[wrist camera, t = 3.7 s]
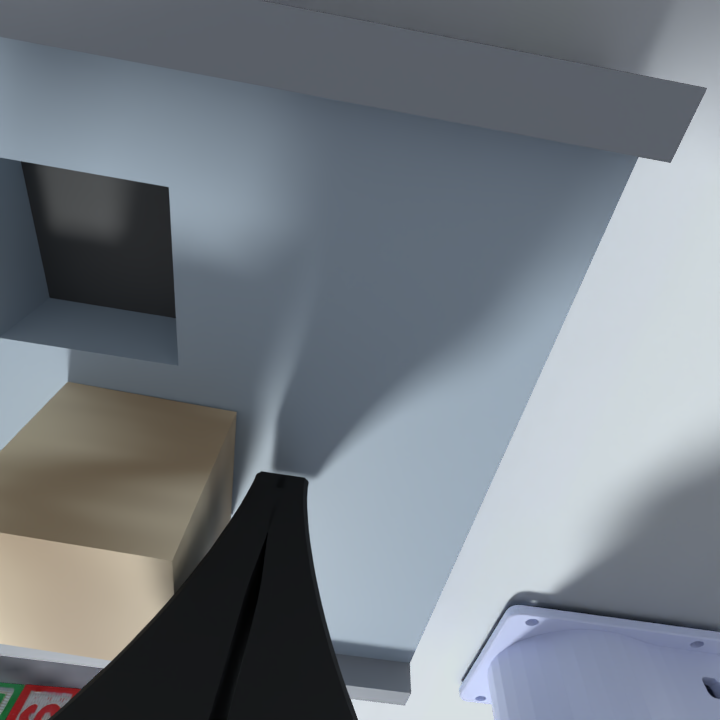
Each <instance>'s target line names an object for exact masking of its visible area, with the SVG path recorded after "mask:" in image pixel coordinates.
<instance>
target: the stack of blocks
mask: <svg viewBox="0 0 720 720" xmlns="http://www.w3.org/2000/svg"><path fill="white" fill-rule="evenodd" d="M80 690H81V689H76V688H64V687H51V686H39V685H22V684H10V683H0V720H48V719H49V718H50V717H51V716H53V715H54V714H55V713H56V712H57V711H58V710H59V709H60V708H62V707H63V706H64V705H65V704H66V703H67V702H68V701H69V700H70V699H71V698H73V697H74V696H75V695H76V694H77V693H78V692H79V691H80Z"/></svg>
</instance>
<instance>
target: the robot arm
mask: <svg viewBox="0 0 720 720" xmlns="http://www.w3.org/2000/svg"><path fill="white" fill-rule="evenodd" d="M308 484H309V481H308V480H307V479H306V478H304V477H297V476H291V475H284V474H277V473H270V472H264V471H261V472H259V473H257V474H256V476H255V479H254V481H253V483H252V485H251V487H250V489H249V490H248V492H247V494H246V496H245V498H244V499H243V501H242V503H241V504H240V506H239V507H238V509H237V511H236V512H235V514H234V515H233V517H232V518H231V520H230V521H229V523H228V524H227V526H226V527H225V529H224V530H223V532H222V533H221V534H220V536H219V537H218V539H217V540H216V542H215V543H214V544H213V546H212V547H211V549H210V550H209V551H208V553H207V554H206V555H205V556H204V558H203V559H202V560H201V562H200V563H199V564H198V565H197V567H196V568H195V569H194V571H193V572H192V573H191V574H190V576H189V577H188V578H187V579H186V581H185V582H184V583H183V584H182V585H181V587H180V588H179V589H178V590H177V591H176V593H175V594H174V595H173V596H172V597H171V598H170V600H169V601H168V602H167V603H166V604H165V605H164V606H163V608H162V609H161V610H160V611H159V612H158V613H157V614H156V615H155V616H154V618H153V619H152V620H151V621H150V622H149V623H148V624H147V625H146V626H145V627H144V628H143V629H142V630H141V631H140V632H139V633H138V634H137V635H136V637H135V638H134V639H133V640H132V641H131V642H130V643H129V644H128V645H127V646H126V647H125V648H124V649H123V650H122V651H121V652H120V653H119V654H118V655H117V656H116V657H115V658H114V659H113V660H112V661H111V662H110V663H109V664H108V665H107V666H106V667H105V668H104V669H103V670H101V671H100V672H99V673H98V674H97V675H96V676H95V677H94V678H93V679H92V680H91V681H90V682H89V683H88V684H86V685H85V686H84V687H83V688H82V689H81V690H80V691H79V692H78V693H77V694H76V695H75V696H74V697H73V698H71V699H70V700H69V701H68V702H67V703H66V704H65V705H64V706H63V707H62V708H60V709H59V710H58V711H57V712H56V713H55V714H54V715H53V716H51V717H50V718H49V719H48V720H358V719H357V716H356V713H355V710H354V708H353V705H352V702H351V699H350V696H349V693H348V691H347V688H346V685H345V682H344V679H343V676H342V673H341V670H340V667H339V664H338V661H337V657H336V654H335V651H334V648H333V644H332V641H331V637H330V633H329V630H328V626H327V623H326V619H325V615H324V611H323V606H322V602H321V598H320V593H319V589H318V584H317V579H316V574H315V568H314V562H313V556H312V549H311V543H310V535H309V525H308V509H307V495H308ZM459 693H460V697H461V699H463V700H464V701H469V702H477V703H485V704H492V709H493V715H494V720H720V632H716V631H709V630H701V629H694V628H687V627H679V626H672V625H664V624H657V623H650V622H642V621H635V620H628V619H620V618H613V617H606V616H598V615H591V614H584V613H576V612H569V611H562V610H554V609H547V608H540V607H532V606H525V605H514V606H511V607H509V608H508V609H507V610H506V612H505V613H504V615H503V617H502V618H501V620H500V622H499V623H498V625H497V627H496V628H495V630H494V632H493V633H492V635H491V637H490V638H489V640H488V642H487V643H486V645H485V647H484V648H483V650H482V651H481V653H480V655H479V656H478V658H477V660H476V661H475V663H474V665H473V666H472V668H471V670H470V671H469V673H468V675H467V676H466V678H465V680H464V681H463V683H462V685H461V686H460V688H459Z"/></svg>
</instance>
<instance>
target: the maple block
mask: <svg viewBox="0 0 720 720" xmlns="http://www.w3.org/2000/svg"><path fill="white" fill-rule="evenodd" d="M236 415H237V412H234V411H228V410H223V409H217V408H211V407H206V406H200V405H195V404H189V403H184V402H178V401H173V400H167V399H161V398H156V397H150V396H145V395H139V394H134V393H128V392H123V391H117V390H111V389H106V388H100V387H95V386H89V385H84V384H78V383H72V382H67V383H66V384H65V385H64V386H63V387H62V388H61V389H60V390H59V391H58V392H57V393H56V394H55V395H54V396H53V397H52V398H51V399H50V400H49V401H48V402H47V403H46V404H45V405H44V407H43V408H42V409H41V410H40V411H39V412H38V413H37V414H36V415H35V416H34V417H33V418H32V419H31V420H30V421H29V422H28V423H27V424H26V425H25V426H24V427H23V428H22V429H21V430H20V431H19V432H18V433H17V434H16V435H15V436H14V437H13V438H12V439H11V441H10V442H9V443H8V444H7V445H6V446H5V447H4V448H3V449H2V450H1V451H0V644H5V645H12V646H18V647H25V648H31V649H38V650H44V651H51V652H57V653H64V654H70V655H77V656H83V657H90V658H96V659H103V660H109V661H112V660H113V659H114V658H115V657H116V656H117V655H118V654H119V653H120V652H121V651H122V650H123V649H124V648H125V647H126V646H127V645H128V644H129V643H130V642H131V641H132V640H133V639H134V638H135V637H136V635H137V634H138V633H139V632H140V631H141V630H142V629H143V628H144V627H145V626H146V625H147V624H148V623H149V622H150V621H151V620H152V619H153V618H154V616H155V615H156V614H157V613H158V612H159V611H160V610H161V609H162V608H163V606H164V605H165V604H166V603H167V602H168V601H169V600H170V598H171V597H172V596H173V595H174V594H175V593H176V591H177V590H178V589H179V588H180V587H181V585H182V584H183V583H184V582H185V581H186V579H187V578H188V577H189V576H190V574H191V573H192V572H193V571H194V569H195V568H196V567H197V565H198V564H199V563H200V562H201V560H202V559H203V558H204V556H205V555H206V554H207V553H208V551H209V550H210V549H211V547H212V546H213V544H214V543H215V542H216V540H217V539H218V537H219V536H220V534H221V533H222V532H223V530H224V529H225V527H226V526H227V524H228V523H229V521H230V520H231V508H232V489H233V471H234V452H235V433H236Z"/></svg>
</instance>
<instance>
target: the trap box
mask: <svg viewBox="0 0 720 720" xmlns="http://www.w3.org/2000/svg"><path fill="white" fill-rule="evenodd" d="M706 89H707V88H704V87H699V86H694V85H689V84H684V83H679V82H674V81H669V80H664V79H659V78H653V77H648V76H643V75H638V74H633V73H628V72H623V71H618V70H613V69H608V68H603V67H598V66H593V65H587V64H582V63H577V62H572V61H567V60H562V59H557V58H552V57H547V56H542V55H537V54H532V53H527V52H521V51H516V50H511V49H506V48H501V47H496V46H491V45H486V44H481V43H476V42H471V41H466V40H461V39H455V38H450V37H445V36H440V35H435V34H430V33H425V32H420V31H415V30H410V29H405V28H400V27H395V26H390V25H384V24H379V23H374V22H369V21H364V20H359V19H354V18H349V17H344V16H339V15H334V14H329V13H324V12H318V11H313V10H308V9H303V8H298V7H293V6H288V5H283V4H278V3H273V2H268V1H263V0H0V451H1V450H2V449H3V448H4V447H5V446H6V445H7V444H8V443H9V442H10V441H11V439H12V438H13V437H14V436H15V435H16V434H17V433H18V432H19V431H20V430H21V429H22V428H23V427H24V426H25V425H26V424H27V423H28V422H29V421H30V420H31V419H32V418H33V417H34V416H35V415H36V414H37V413H38V412H39V411H40V410H41V409H42V408H43V407H44V405H45V404H46V403H47V402H48V401H49V400H50V399H51V398H52V397H53V396H54V395H55V394H56V393H57V392H58V391H59V390H60V389H61V388H62V387H63V386H64V385H65V384H66V383H67V382H72V383H78V384H84V385H89V386H95V387H100V388H106V389H111V390H117V391H123V392H128V393H134V394H139V395H145V396H150V397H156V398H161V399H167V400H173V401H178V402H184V403H189V404H195V405H200V406H206V407H211V408H217V409H223V410H228V411H234V412H237V415H236V433H235V452H234V471H233V489H232V508H231V518H232V517H233V515H234V514H235V512H236V511H237V509H238V507H239V506H240V504H241V503H242V501H243V499H244V498H245V496H246V494H247V492H248V490H249V489H250V487H251V485H252V483H253V481H254V479H255V476H256V474H257V473H259V472H261V471H264V472H270V473H277V474H284V475H291V476H297V477H304V478H306V479H307V480H308V481H309V484H308V495H307V509H308V525H309V535H310V543H311V549H312V556H313V562H314V568H315V574H316V579H317V584H318V589H319V593H320V598H321V602H322V606H323V611H324V615H325V619H326V623H327V626H328V630H329V633H330V637H331V641H332V644H333V648H334V651H335V654H336V657H337V661H338V664H339V667H340V670H341V673H342V676H343V679H344V682H345V685H346V688H347V691H348V693H349V696H350V699H356V700H364V701H373V702H381V703H389V704H397V705H405V704H406V702H407V700H408V698H409V696H410V694H411V684H410V661H411V659H412V657H413V655H414V652H415V650H416V648H417V646H418V644H419V641H420V639H421V637H422V635H423V633H424V630H425V628H426V626H427V624H428V621H429V619H430V617H431V615H432V613H433V610H434V608H435V606H436V604H437V602H438V599H439V597H440V595H441V593H442V591H443V588H444V586H445V584H446V582H447V579H448V577H449V575H450V573H451V571H452V568H453V566H454V564H455V562H456V560H457V557H458V555H459V553H460V551H461V548H462V546H463V544H464V542H465V540H466V537H467V535H468V533H469V531H470V529H471V526H472V524H473V522H474V520H475V517H476V515H477V513H478V511H479V509H480V506H481V504H482V502H483V500H484V498H485V495H486V493H487V491H488V489H489V487H490V484H491V482H492V480H493V478H494V475H495V473H496V471H497V469H498V467H499V464H500V462H501V460H502V458H503V456H504V453H505V451H506V449H507V447H508V444H509V442H510V440H511V438H512V436H513V433H514V431H515V429H516V427H517V425H518V422H519V420H520V418H521V416H522V413H523V411H524V409H525V407H526V405H527V402H528V400H529V398H530V396H531V394H532V391H533V389H534V387H535V385H536V383H537V380H538V378H539V376H540V374H541V371H542V369H543V367H544V365H545V363H546V360H547V358H548V356H549V354H550V352H551V349H552V347H553V345H554V343H555V340H556V338H557V336H558V334H559V332H560V329H561V327H562V325H563V323H564V321H565V318H566V316H567V314H568V312H569V310H570V307H571V305H572V303H573V301H574V298H575V296H576V294H577V292H578V290H579V287H580V285H581V283H582V281H583V279H584V276H585V274H586V272H587V270H588V267H589V265H590V263H591V261H592V259H593V256H594V254H595V252H596V250H597V248H598V245H599V243H600V241H601V239H602V236H603V234H604V232H605V230H606V228H607V225H608V223H609V221H610V219H611V217H612V214H613V212H614V210H615V208H616V206H617V203H618V201H619V199H620V197H621V194H622V192H623V190H624V188H625V186H626V183H627V181H628V179H629V177H630V175H631V172H632V170H633V168H634V166H635V163H636V161H637V159H638V157H642V158H648V159H653V160H658V161H664V162H669V163H671V161H672V159H673V157H674V155H675V153H676V151H677V149H678V147H679V145H680V142H681V140H682V138H683V136H684V134H685V132H686V130H687V128H688V126H689V124H690V122H691V120H692V118H693V116H694V114H695V112H696V110H697V108H698V106H699V104H700V102H701V100H702V98H703V96H704V93H705V91H706ZM0 656H8V657H16V658H24V659H32V660H41V661H49V662H57V663H65V664H73V665H81V666H89V667H97V668H105V667H106V666H107V665H108V664H109V663H110V662H111V661H109V660H103V659H96V658H90V657H83V656H77V655H70V654H64V653H57V652H51V651H44V650H38V649H31V648H25V647H18V646H12V645H5V644H0Z"/></svg>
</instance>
